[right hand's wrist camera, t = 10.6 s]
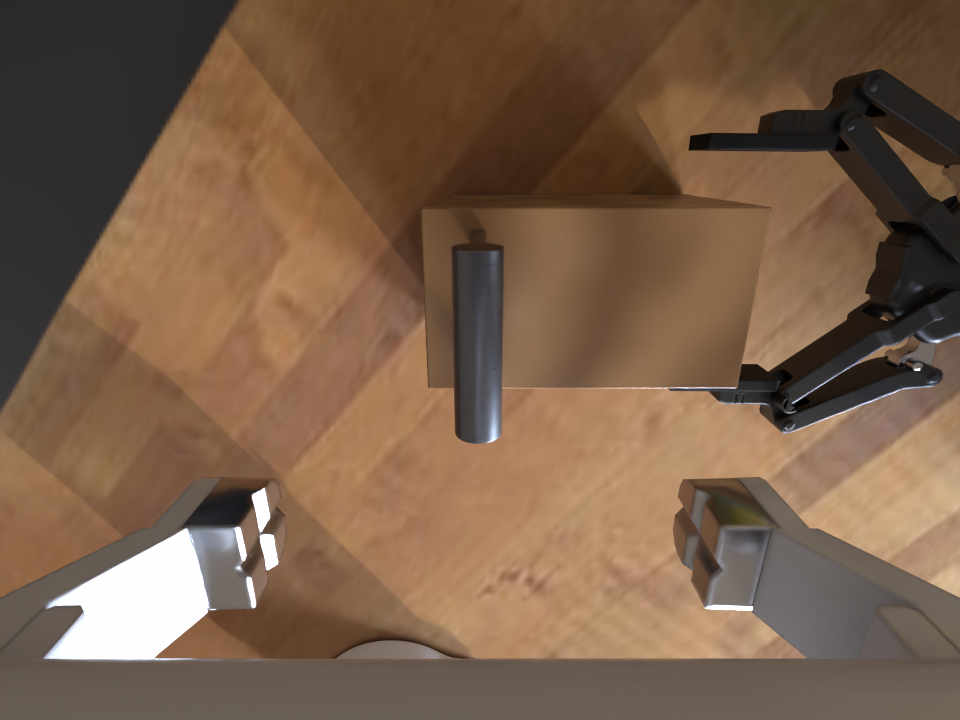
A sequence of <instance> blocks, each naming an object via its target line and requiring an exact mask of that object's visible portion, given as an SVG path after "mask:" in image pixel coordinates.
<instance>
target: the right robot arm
mask: <svg viewBox="0 0 960 720" xmlns="http://www.w3.org/2000/svg"><path fill="white" fill-rule="evenodd" d="M281 498H282V494H281V490H280V485H279V482H278V481H277V480H276V479H273V478H223V477H204V478H199V479H195V480H194V482H193V483H192V484H191V485H190V486H189V487H188V488H187V489H186V490H185V491H184V492H183V493H182V495H181V496H180V497H179V498H178V499H177V500H176V501H175V502H174V503H173V504H172V505H171V507H170V508H169V509H168V510H167V511H166V512H165V513H164V514H163V515H162V516H161V517H160V519H159V520H158V521H157V522H156V523H155V524H154V525H153V526H152V527H151V528H150V529H140V530H138V531H136V532H134V533H132V534H130V535H128V536H126V537H124V538H122V539H120V540H118V541H116V542H113V543H111V544H109V545H107V546H105V547H103V548H101V549H99V550H97V551H95V552H93V553H91V554H89V555H87V556H85V557H83V558H81V559H79V560H77V561H74V562H72V563H70V564H68V565H66V566H64V567H62V568H60V569H58V570H56V571H54V572H52V573H50V574H48V575H46V576H44V577H42V578H40V579H37V580H35V581H33V582H31V583H29V584H27V585H25V586H23V587H21V588H19V589H17V590H15V591H13V592H11V593H9V594H7V595H5V596H3V597H1V598H0V720H960V598H959V597H957V596H955V595H953V594H951V593H949V592H947V591H945V590H943V589H941V588H939V587H937V586H935V585H932V584H930V583H928V582H926V581H924V580H922V579H920V578H918V577H916V576H914V575H912V574H910V573H908V572H906V571H904V570H902V569H900V568H898V567H896V566H894V565H892V564H889V563H887V562H885V561H883V560H881V559H879V558H877V557H875V556H873V555H871V554H869V553H867V552H865V551H863V550H861V549H859V548H857V547H855V546H853V545H851V544H848V543H846V542H844V541H842V540H840V539H838V538H836V537H834V536H832V535H830V534H828V533H826V532H824V531H822V530H820V529H810V528H809V527H808V526H807V525H806V524H805V523H804V522H803V521H802V520H801V519H800V517H799V516H798V515H797V514H796V513H795V512H794V511H793V510H792V509H791V508H790V507H789V505H788V504H787V503H786V502H785V501H784V500H783V499H782V498H781V497H780V496H779V495H778V493H777V492H776V491H775V490H774V489H773V488H772V487H771V486H770V485H769V484H768V483H767V481H766V480H764V479H762V478H760V477H746V478H724V479H683V481H682V483H681V485H680V489H679V494H678V498H679V499H680V501H681V503H682V504H683V506H684V507H683V508H682V509H681V510H680V511H679V512H678V513H677V514H676V515H675V519H674V527H673V533H674V543H675V547H676V550H677V554H678V556H679V558H680V560H681V562H682V564H684V565H685V566H687V567H688V568H689V569H691V570H692V571H693V573H692V579H691V582H692V584H693V586H694V587H695V589H696V591H697V593H698V595H699V597H700V599H701V601H702V603H703V605H704V607H705V609H735V610H752V613H754V614H755V615H756V616H757V617H758V618H760V619H761V620H762V621H763V622H764V623H766V624H767V625H768V626H769V627H770V628H772V629H773V630H774V631H775V632H776V633H778V634H779V635H780V636H781V637H783V638H784V639H785V640H786V641H787V642H789V643H790V644H791V645H792V646H793V647H795V648H796V649H797V650H798V651H799V652H801V653H802V654H803V655H804V656H805V657H807V658H808V659H460V658H452V657H449V656H446V655H444V654H442V653H440V652H438V651H436V650H434V649H431V648H429V647H426V646H423V645H420V644H416V643H412V642H406V641H395V640H387V641H376V642H370V643H366V644H362V645H359V646H356V647H354V648H352V649H350V650H348V651H346V652H344V653H343V654H341V655H340V656H339V657H337V658H336V659H152V658H153V657H155V656H156V655H157V654H158V653H160V652H161V651H162V650H163V649H164V648H166V647H167V646H168V645H169V644H170V643H172V642H173V641H174V640H175V639H176V638H178V637H179V636H180V635H181V634H182V633H184V632H185V631H186V630H187V629H189V628H190V627H191V626H192V625H193V624H195V623H196V622H197V621H198V620H199V619H201V618H202V617H203V616H204V615H205V614H207V613H208V610H224V609H255V607H256V605H257V603H258V601H259V599H260V597H261V595H262V593H263V591H264V589H265V587H266V586H267V584H268V582H269V579H268V573H267V571H268V570H269V569H271V568H272V567H273V566H275V565H276V564H278V562H279V560H280V558H281V556H282V554H283V551H284V546H285V542H286V531H287V525H286V519H285V515H284V514H283V513H282V512H281V511H280V510H279V509H278V508H277V507H276V506H277V504H278V503H279V501H280V499H281Z"/></svg>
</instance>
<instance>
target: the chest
mask: <svg viewBox="0 0 960 720" xmlns="http://www.w3.org/2000/svg"><path fill="white" fill-rule="evenodd" d="M707 205H753V204H746V203H739V202H732V201H725V200H719V199H712V198H705V197H698V196H691V195H686V194H544V195H451V196H450V197H449V198H448V199H447V200H446V202H445V203H444V204H443V205H442V206H707Z"/></svg>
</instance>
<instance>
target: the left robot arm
mask: <svg viewBox="0 0 960 720" xmlns="http://www.w3.org/2000/svg"><path fill="white" fill-rule="evenodd" d="M832 94H833V98H832V100H831V102H830V103H829V105H828V106H827V107H826V108H825V109H824V110H782V111H776V112H771V113H768V114H766V115H763V116H761V118H760V123H759V128H758V134H755V133H707V134H700V135H693V136H690V143H689V150H698V151H787V152H808V151H828V152H829V153H830V154H831V156H832V157H833V158H834V159H835V160H836V162H837V163H838V164H839V165H840V166H841V167H842V169H843V170H844V171H845V172H846V173H847V175H848V176H849V177H850V178H851V179H852V180H853V182H854V183H855V184H856V185H857V186H858V188H859V189H860V190H861V191H862V192H863V193H864V195H865V196H866V197H867V198H868V199H869V201H870V202H871V203H872V204H873V205H874V206H875V208H876V209H877V212H876V215H877V216H878V218H879V219H880V220H881V221H882V222H883V224H884V225H885V226H886V227H887V228H888V229H889V231H890V232H891V234H890V235H889V236H888V237H887V239H886V240H885V242H880V243H879V246H878V250H877V253H876V268H875V270H874V272H873V274H872V276H871V277H870V279H869V281H868V285H867V288H866V292H865V293H867V294H870V299H869V300H868V301H866V302H865V303H863V304H862V305H860V306H859V307H857V308H856V309H854V310H853V311H851V312H850V313H849V314H848V315H847V320H846V321H845V322H843V323H842V324H840V325H839V326H837V327H836V328H834V329H833V330H831V331H830V332H828V333H826V334H825V335H823V336H822V337H820V338H819V339H817V340H816V341H814V342H813V343H811V344H810V345H808V346H807V347H805V348H804V349H802V350H801V351H799V352H798V353H796V354H795V355H793V356H792V357H790V358H788V359H787V360H785V361H784V362H782V363H781V364H779V365H778V366H776V367H775V368H773V369H772V370H770V371H769V372H767V371H766V370H765V369H763V368H762V367H760V366H759V365H758V364H742V365H741V371H740V376H739V381H738V386H737V388H669V390H670V391H709V392H710V393H711V394H712V395H713V396H714V397H715V398H716V399H717V400H718V401H720V402H722V403H725V404H761V406H760V413H761V414H762V415H763V416H764V417H765V418H766V419H767V420H769V421H770V422H771V423H772V424H773V425H774V426H775V427H776V428H778V429H779V430H780V431H781V432H783V433H791V432H794V431H797V430H799V429H802V428H804V427H807V426H809V425H812V424H815V423H817V422H820V421H822V420H825V419H827V418H830V417H833V416H835V415H838V414H840V413H843V412H845V411H848V410H851V409H853V408H856V407H858V406H861V405H864V404H866V403H869V402H871V401H874V400H876V399H879V398H882V397H884V396H887V395H889V394H892V393H894V392H897V391H900V390H902V389H912V388H923V387H932V386H935V385H937V384H938V383H939V382H940V381H941V380H942V378H943V373H942V371H941V370H939V369H938V368H935V367H933V366H932V362H933V358H934V353H935V349H936V344H937V343H938V342H942V341H944V340H946V339H948V338H951V337H955V336H960V122H959V121H958V120H956V119H955V118H953V117H952V116H950V115H949V114H947V113H946V112H944V111H943V110H942V109H940V108H939V107H937V106H936V105H934V104H933V103H931V102H930V101H928V100H927V99H925V98H924V97H922V96H921V95H919V94H918V93H917V92H915V91H914V90H912V89H911V88H909V87H908V86H906V85H905V84H903V83H902V82H900V81H899V80H897V79H896V78H894V77H893V76H891V75H890V74H889V73H887V72H886V71H884V70H881V69H879V70H873V71H869V72H865V73H861V74H857V75H853V76H848V77H844V78H842V79H840V80H838V82H837V83H836V84H835V85H834V88H833V92H832ZM873 125H874V126H875V127H877V128H879V129H880V130H882V131H883V132H885V133H886V134H888V135H889V136H891V137H892V138H894V139H895V140H897V141H898V142H900V143H901V144H903V145H905V146H906V147H908V148H909V149H911V150H912V151H914V152H915V153H917V154H918V155H920V156H921V157H923V158H924V159H926V160H928V161H930V162H932V163H935V164H938V165H942V166H945V167H944V168H943V170H942V174H943V175H944V176H947V177H948V179H949V180H950V181H952V182H954V183H955V184H956V185H957V188H958V191H957V195H956V196H952V197H949V198H947V199H945V200H943V201H942V202H941V201H939V200H937V199H935V198H933V197H931V196H930V195H929V194H928V193H927V192H926V191H925V189H924V188H923V187H922V186H921V184H920V183H919V182H918V181H917V179H916V178H915V177H914V176H913V174H912V173H911V172H910V171H909V169H908V168H907V167H906V166H905V164H904V163H903V162H902V161H901V160H900V158H899V157H898V156H897V155H896V153H895V152H894V151H893V150H892V148H891V147H890V146H889V145H888V143H887V142H886V141H885V140H884V138H883V137H882V136H881V135H880V133H879V132H878V131H877V130H876V128H875V127H874V126H873ZM882 316H884V317H885V318H886V319H888V320H889V321H884V320H882V319H879V318H881V317H882ZM908 337H909V340H908V342H907V343H906V344H905V345H904V346H903V347H901V348H899V349H896V350H892V349H889V350H887V351H886V352H885V354H884V356H885V357H879V358H874V359H870V360H867V361H864V362H862V363H859V364H857V365H855V364H856V363H858V362H860V361H861V360H863V359H864V358H866V357H867V356H869V355H871V354H872V353H874V352H875V351H877V350H878V349H880V348H882V347H884V346H893V345H896V344H899V343H900V342H902V341H904V340H905V339H907V338H908ZM853 365H854V366H853Z"/></svg>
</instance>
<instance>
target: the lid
mask: <svg viewBox="0 0 960 720" xmlns="http://www.w3.org/2000/svg"><path fill="white" fill-rule="evenodd" d="M771 211H772V208H771V207H766V206H759V205H707V206H424V207H422V208H421V228H422V252H423V276H424V300H425V325H426V349H427V373H428V388H454V405H455V434H456V436H457V437H458V438H459V439H460V440H462V441H465V442H468V443H473V444H483V443H489V442H492V441H494V440H496V439H498V438H499V437H500V435H501V433H502V388H737V386H738V381H739V376H740V371H741V365H742V360H743V355H744V350H745V345H746V340H747V335H748V329H749V324H750V319H751V314H752V309H753V304H754V299H755V293H756V288H757V283H758V278H759V273H760V268H761V263H762V257H763V252H764V247H765V242H766V237H767V232H768V227H769V221H770V216H771Z"/></svg>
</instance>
